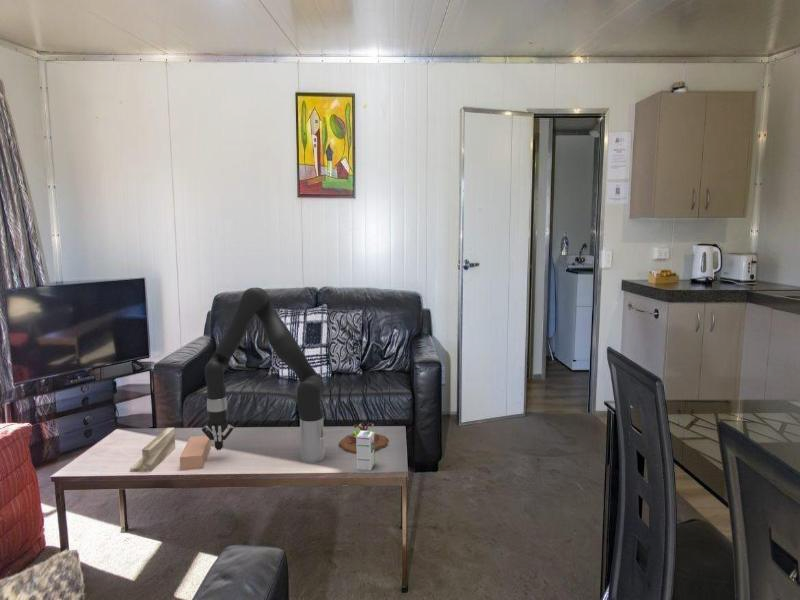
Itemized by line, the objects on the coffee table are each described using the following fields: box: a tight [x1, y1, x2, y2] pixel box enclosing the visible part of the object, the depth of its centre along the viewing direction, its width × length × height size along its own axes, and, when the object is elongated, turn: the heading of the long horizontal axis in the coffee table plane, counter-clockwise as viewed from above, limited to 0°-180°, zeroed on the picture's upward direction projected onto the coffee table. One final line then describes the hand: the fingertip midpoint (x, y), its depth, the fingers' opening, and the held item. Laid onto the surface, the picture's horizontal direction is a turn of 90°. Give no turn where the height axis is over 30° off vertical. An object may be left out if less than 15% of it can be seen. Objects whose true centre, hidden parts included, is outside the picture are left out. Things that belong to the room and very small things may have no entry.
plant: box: [338, 422, 389, 455], centre depth 219 cm, size 20×20×11 cm
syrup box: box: [356, 430, 376, 471], centre depth 197 cm, size 6×6×14 cm
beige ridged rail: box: [129, 427, 176, 473], centre depth 205 cm, size 8×22×9 cm, turn 1°
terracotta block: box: [179, 435, 212, 471], centre depth 206 cm, size 8×20×6 cm, turn 12°
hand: (219, 449), depth 206 cm, fingers closed
